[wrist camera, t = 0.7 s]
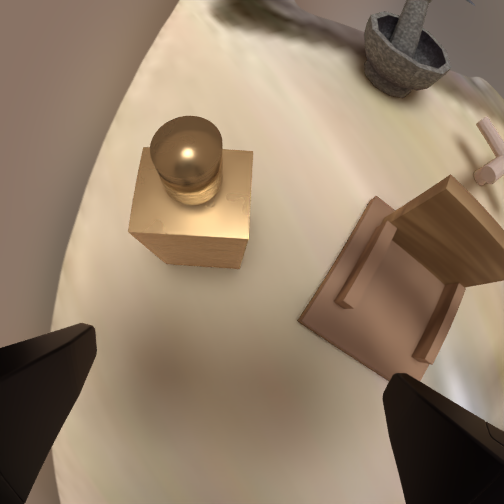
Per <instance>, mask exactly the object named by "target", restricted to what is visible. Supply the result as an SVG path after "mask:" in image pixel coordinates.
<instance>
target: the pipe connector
mask: <svg viewBox="0 0 504 504" xmlns="http://www.w3.org/2000/svg"><path fill="white" fill-rule="evenodd" d="M476 125H477V127H478V128H479V130H480V131H481V133H482V135H483V136H484V138H485V139H486V141H487V143H488V144H489V146H490V148H491V149H492V151H493V153H494V154H495V156H496V158H495V159H493V160H492V161H490V162H489V163H487V164H486V165H484V166H483V167H481V168H479V169H478V170H476V171H475V172H474V178H475V181H476V182H477V183H478V184H479V185H481V186H482V185H484V184H485V183H488V184H493V183H494V182H495V181H497V180H498V179H499V178H500V177H501V176H503V175H504V142H503V140H502V138H501V137H500V135H499V133H498V132H497V130H496V129H495V127H494V125H493V124H492V122H491V121H490V119H489V118H488V116H487V117H485V118H483V119H482V120H480V121H479V122H478V123H477V124H476Z"/></svg>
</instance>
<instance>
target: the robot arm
mask: <svg viewBox="0 0 504 504" xmlns="http://www.w3.org/2000/svg"><path fill="white" fill-rule="evenodd" d="M96 353H97V346H96V333H95V328H94V327H93V326H91V325H88V324H85V323H79V324H76V325H73V326H70V327H67V328H63V329H60V330H57V331H54V332H51V333H48V334H44V335H41V336H38V337H35V338H32V339H28V340H25V341H22V342H18V343H15V344H12V345H9V346H5V347H2V348H0V504H24V503H25V502H26V500H27V498H28V495H29V493H30V491H31V489H32V486H33V484H34V482H35V480H36V478H37V476H38V473H39V471H40V469H41V467H42V465H43V463H44V461H45V459H46V457H47V455H48V453H49V451H50V449H51V447H52V445H53V443H54V441H55V439H56V437H57V435H58V434H59V432H60V430H61V428H62V426H63V424H64V422H65V420H66V419H67V417H68V415H69V413H70V411H71V409H72V408H73V406H74V404H75V402H76V400H77V398H78V396H79V394H80V392H81V390H82V388H83V385H84V383H85V380H86V378H87V376H88V373H89V371H90V369H91V366H92V364H93V362H94V359H95V357H96ZM383 405H384V410H385V416H386V421H387V427H388V433H389V438H390V442H391V446H392V450H393V454H394V457H395V461H396V465H397V469H398V473H399V477H400V481H401V485H402V489H403V493H404V498H405V502H406V504H504V431H502V430H500V429H498V428H496V427H495V426H493V425H491V424H490V423H488V422H485V421H484V420H483V419H481V418H479V417H478V416H476V415H474V414H473V413H471V412H469V411H468V410H466V409H464V408H463V407H461V406H459V405H458V404H456V403H454V402H453V401H451V400H449V399H448V398H446V397H444V396H443V395H441V394H440V393H438V392H436V391H435V390H433V389H431V388H430V387H428V386H426V385H425V384H423V383H422V382H420V381H418V380H417V379H415V378H413V377H412V376H410V375H409V374H407V373H395V374H393V375H392V377H391V379H390V381H389V383H388V385H387V387H386V389H385V391H384V393H383Z"/></svg>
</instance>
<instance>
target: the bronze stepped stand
mask: <svg viewBox="0 0 504 504" xmlns="http://www.w3.org/2000/svg"><path fill="white" fill-rule="evenodd" d="M503 280H504V230H503V229H502V228H501V226H500V225H499V224H498V223H497V222H496V221H495V219H494V218H493V217H492V216H491V215H490V214H489V213H488V212H487V211H486V209H485V208H484V207H483V206H482V205H481V204H480V203H479V202H478V201H477V200H476V199H475V198H474V197H473V196H472V195H471V194H470V193H469V192H468V191H467V190H466V189H465V188H464V187H463V186H462V185H461V184H460V183H459V182H458V181H457V180H456V179H455V178H454V177H453V176H452V175H449V176H448V177H446V178H445V179H443V180H442V181H440V182H439V183H437V184H436V185H434V186H433V187H431V188H430V189H428V190H427V191H425V192H424V193H422V194H421V195H419V196H418V197H416V198H414V199H413V200H411V201H410V202H408V203H407V204H405V205H404V206H402V207H401V208H399V209H397V210H396V211H395V210H394V209H393V208H391V207H390V206H389V205H388V204H386V203H385V202H384V201H382V200H381V199H380V198H379V197H377V196H375V197H374V198H373V199H372V200H370V202H369V204H368V206H367V207H366V209H365V211H364V213H363V215H362V216H361V218H360V220H359V222H358V223H357V225H356V227H355V229H354V230H353V232H352V234H351V236H350V237H349V239H348V241H347V242H346V244H345V246H344V248H343V249H342V251H341V253H340V254H339V256H338V258H337V259H336V261H335V263H334V264H333V266H332V268H331V269H330V271H329V272H328V274H327V276H326V277H325V279H324V281H323V282H322V284H321V285H320V287H319V288H318V290H317V292H316V293H315V295H314V296H313V298H312V299H311V301H310V303H309V304H308V306H307V307H306V309H305V310H304V312H303V313H302V315H301V316H300V318H299V319H298V322H300V323H301V324H303V325H304V326H306V327H307V328H309V329H310V330H312V331H313V332H315V333H316V334H318V335H319V336H321V337H322V338H324V339H325V340H327V341H328V342H330V343H331V344H333V345H334V346H336V347H337V348H339V349H340V350H342V351H343V352H345V353H347V354H348V355H350V356H351V357H353V358H354V359H356V360H357V361H359V362H360V363H362V364H363V365H365V366H367V367H368V368H370V369H371V370H373V371H374V372H376V373H378V374H379V375H381V376H382V377H384V378H385V379H387V380H389V381H390V379H391V377H392V375H393V374H395V373H407V374H409V375H410V376H412V377H413V378H415V379H417V380H418V381H420V380H421V379H422V377H423V375H424V373H425V371H426V370H427V368H428V366H429V364H433V362H434V360H435V358H436V356H437V354H438V352H439V350H440V348H441V346H442V344H443V342H444V340H445V338H446V336H447V333H448V331H449V329H450V327H451V324H452V322H453V320H454V317H455V315H456V313H457V310H458V308H459V305H460V303H461V300H462V298H463V295H464V292H465V290H466V289H465V288H464V287H469V286H475V285H481V284H487V283H492V282H497V281H503Z"/></svg>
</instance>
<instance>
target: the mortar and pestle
mask: <svg viewBox="0 0 504 504" xmlns="http://www.w3.org/2000/svg"><path fill="white" fill-rule="evenodd" d="M431 1H432V0H407V1H406V3H405V6H404V8H403V10H402V13H401V15H400V16H399V15H396V14H392V13H389V12H385V11H384V12H381V13H377V14H373V15H371V16H370V18H369V20H368V22H367V25H366V29H365V33H364V39H365V51H366V58H367V61H366V62H365V75H366V76H367V77H368V79H369V80H370V81H371V82H372V84H373V85H374V86H375V87H377V88H378V89H380V90H381V91H383V92H385V93H386V94H388V95H389V96H395V97H401V98H403V97H405V96H406V95H407V94H409V93H410V92H411V90H412V89H414V90H422V89H426V88H429V87H430V86H431V85H433V84H434V83H435V82H437V81H438V80H439V79H440V78H441V77H443V76H444V75H445V74H446V73H447V72H448V71H449V70H450V69H451V63H450V60H449V57H448V55H447V52H446V50H445V49H444V48H443V47H442V45H440V43H439V42H438V41H437V40H436V39H435V38H434V37H433V36H432V35H431V34H430V33H429V32H428V31H427V30H425V29H424V28H423V24H424V20H425V16H426V12H427V8H428V4H429V3H430V2H431Z"/></svg>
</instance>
